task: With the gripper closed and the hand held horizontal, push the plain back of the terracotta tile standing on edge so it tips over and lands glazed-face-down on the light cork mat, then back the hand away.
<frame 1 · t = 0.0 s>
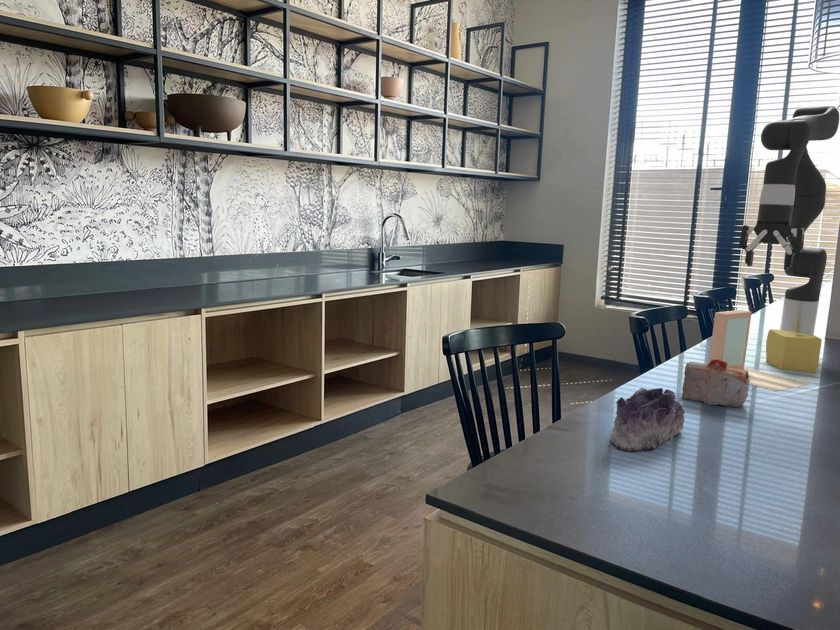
hand: (767, 267, 163), 29 cm above the counter, fingers open, 8 cm apart
cheese: (789, 368, 182), on the counter
food item: (712, 402, 146), on the counter
geode: (644, 439, 121), on the counter
mat: (748, 377, 169), on the counter
tile: (726, 369, 174), resting on mat
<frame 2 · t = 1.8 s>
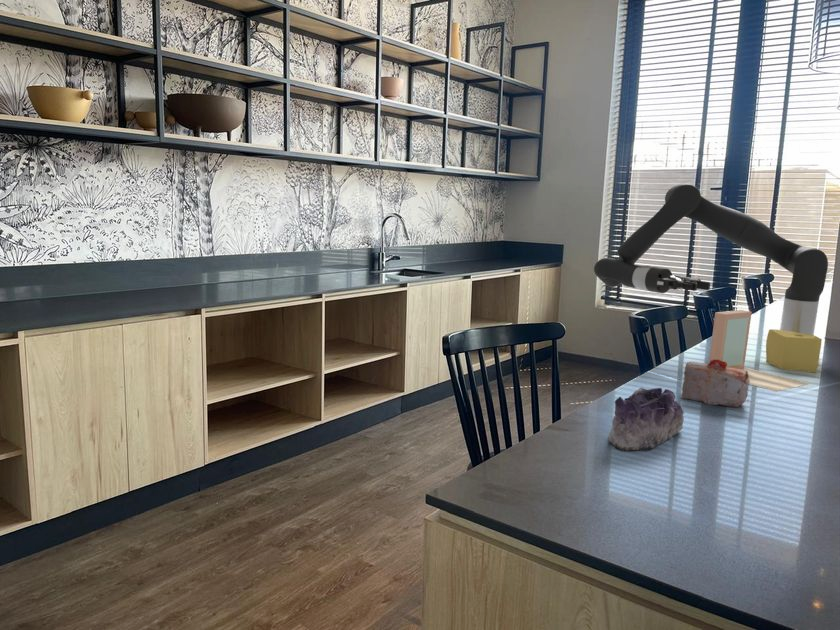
hand: (702, 286, 178), 22 cm above the counter, fingers open, 5 cm apart
nothing on the counter moved.
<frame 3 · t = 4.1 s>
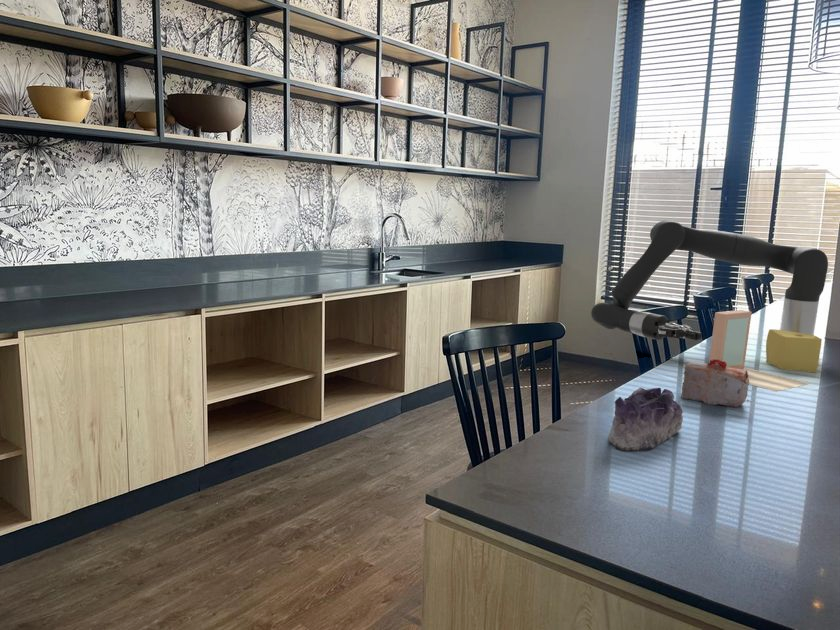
hand: (699, 336, 180), 8 cm above the counter, fingers closed
nothing on the counter moved.
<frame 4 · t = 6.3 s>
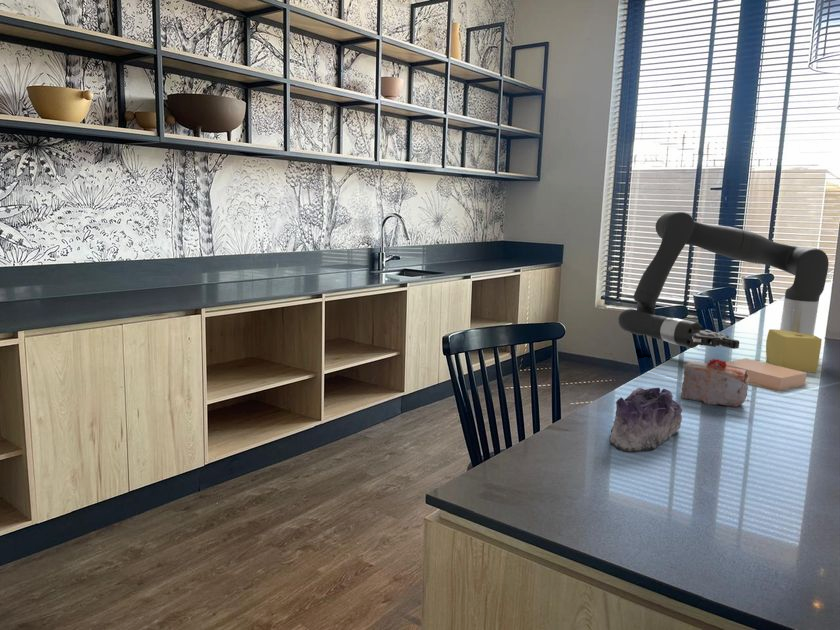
hand: (737, 344, 171), 8 cm above the counter, fingers closed
tile: (732, 365, 172), point 2 cm above the counter, tilted 90°, touching mat
everything else where it was.
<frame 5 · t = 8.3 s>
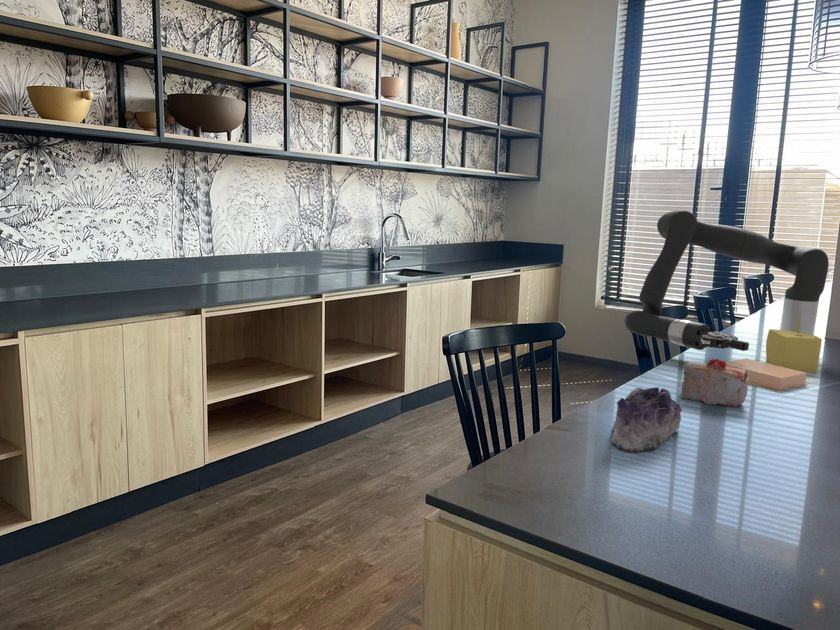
hand: (747, 346, 169), 8 cm above the counter, fingers closed
nothing on the counter moved.
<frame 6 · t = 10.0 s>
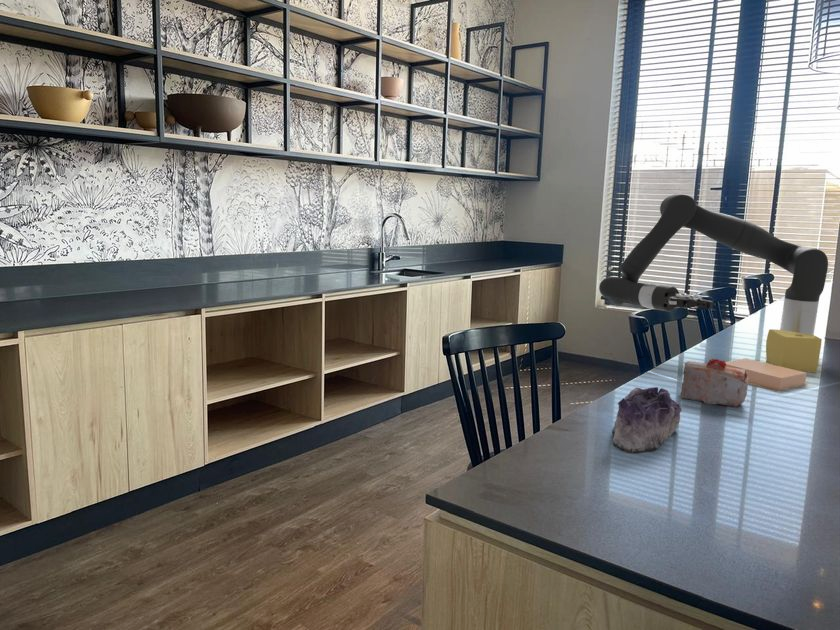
hand: (711, 305, 177), 17 cm above the counter, fingers closed
nothing on the counter moved.
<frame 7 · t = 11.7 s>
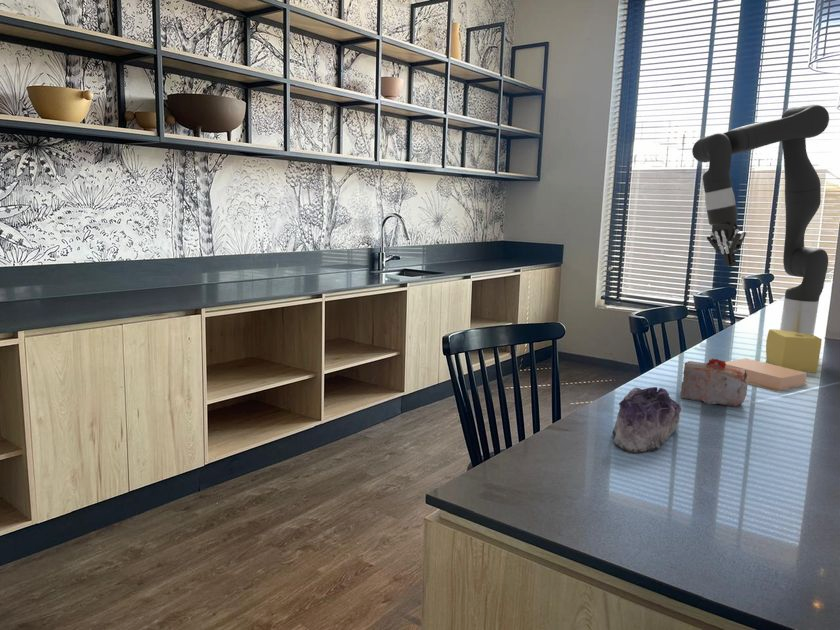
hand: (730, 266, 183), 28 cm above the counter, fingers closed
nothing on the counter moved.
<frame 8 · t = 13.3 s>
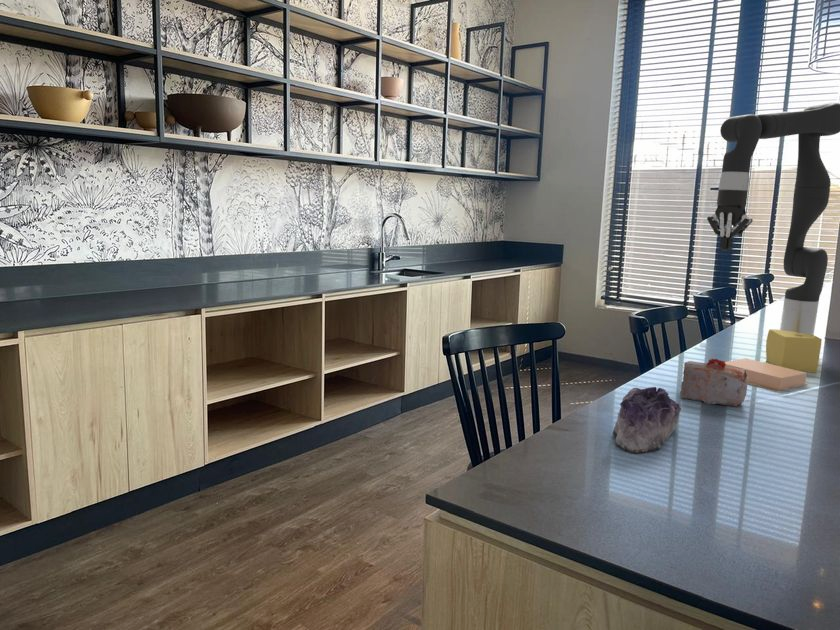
hand: (725, 250, 183), 32 cm above the counter, fingers closed
nothing on the counter moved.
at the end: tile tilted 90°; tile 4.7 cm from the mat (horizontally) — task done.
